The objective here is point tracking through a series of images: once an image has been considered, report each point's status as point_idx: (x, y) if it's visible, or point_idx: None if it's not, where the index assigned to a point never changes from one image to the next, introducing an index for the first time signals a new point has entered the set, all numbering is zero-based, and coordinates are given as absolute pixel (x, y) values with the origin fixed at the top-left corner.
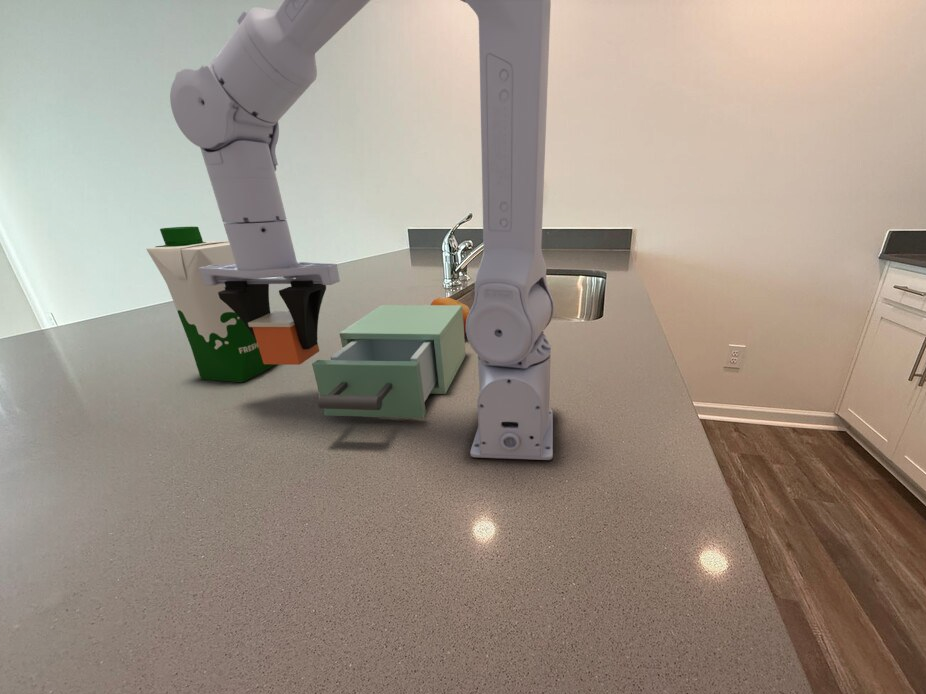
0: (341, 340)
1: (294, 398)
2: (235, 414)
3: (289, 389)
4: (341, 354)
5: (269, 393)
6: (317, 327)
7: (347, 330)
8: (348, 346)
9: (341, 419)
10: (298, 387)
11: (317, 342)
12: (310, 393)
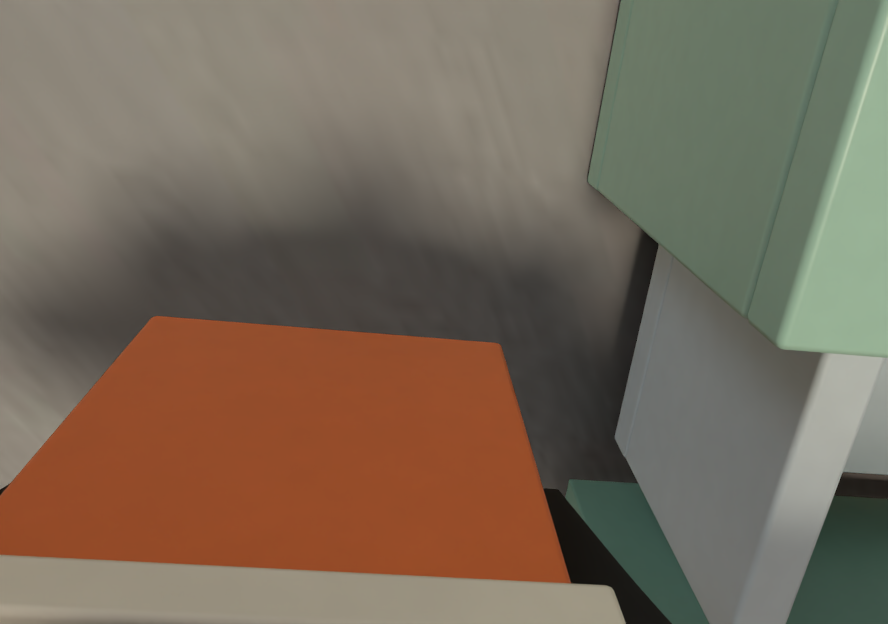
0: (745, 317)
1: (256, 251)
2: (37, 419)
3: (140, 116)
4: (794, 594)
5: (39, 173)
6: (636, 584)
7: (868, 269)
8: (834, 454)
9: (614, 472)
10: (186, 86)
11: (511, 382)
12: (323, 186)
